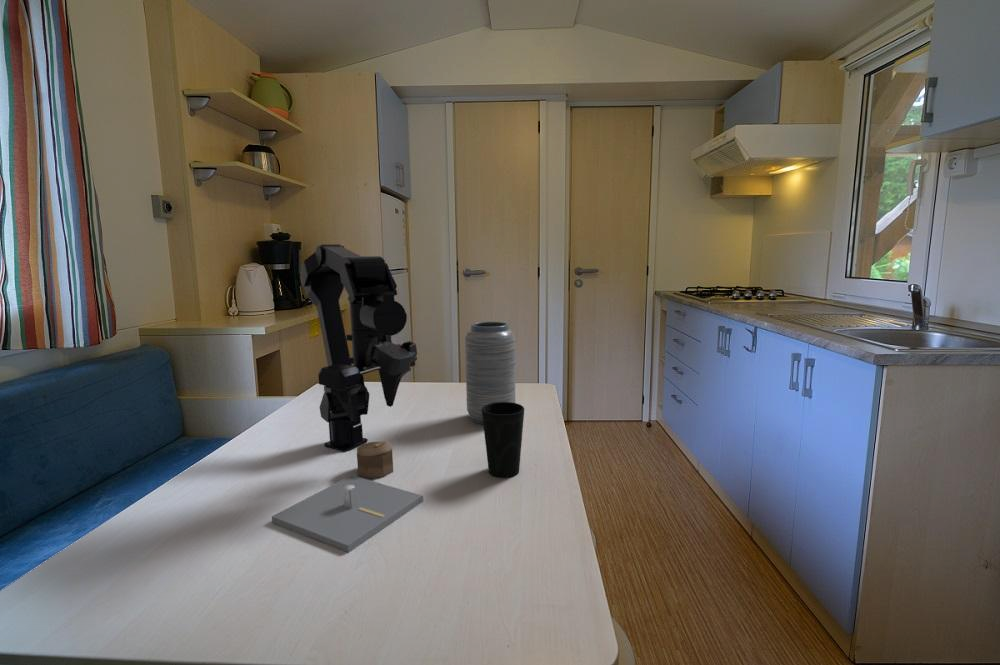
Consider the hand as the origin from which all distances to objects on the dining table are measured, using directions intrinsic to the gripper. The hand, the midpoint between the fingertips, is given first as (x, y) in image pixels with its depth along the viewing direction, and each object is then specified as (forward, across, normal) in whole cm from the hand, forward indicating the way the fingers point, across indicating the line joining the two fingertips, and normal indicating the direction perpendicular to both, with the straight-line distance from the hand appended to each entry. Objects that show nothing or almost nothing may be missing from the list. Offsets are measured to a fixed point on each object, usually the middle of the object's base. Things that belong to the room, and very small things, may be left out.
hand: (372, 413), depth 92 cm
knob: (+11, 0, 0) cm, 11 cm away
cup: (+11, +11, -21) cm, 26 cm away
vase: (+11, +35, -4) cm, 37 cm away
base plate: (+11, -13, -7) cm, 19 cm away
